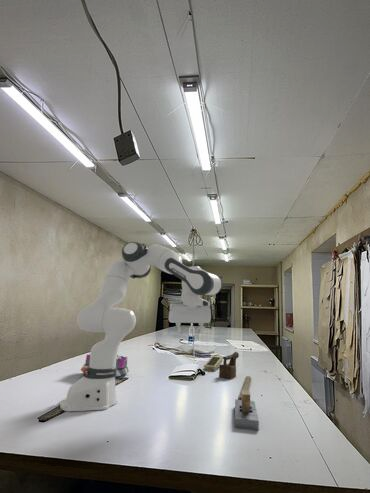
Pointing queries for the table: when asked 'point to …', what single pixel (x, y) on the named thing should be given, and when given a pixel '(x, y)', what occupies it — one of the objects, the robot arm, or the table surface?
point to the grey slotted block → (246, 416)
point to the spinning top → (120, 364)
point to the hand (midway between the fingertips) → (189, 333)
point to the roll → (245, 386)
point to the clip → (245, 401)
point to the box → (213, 363)
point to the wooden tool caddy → (228, 367)
